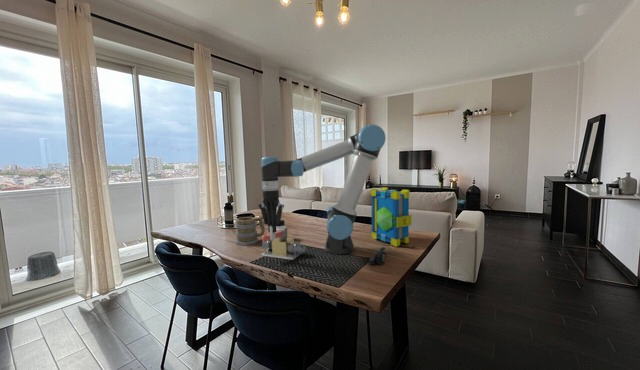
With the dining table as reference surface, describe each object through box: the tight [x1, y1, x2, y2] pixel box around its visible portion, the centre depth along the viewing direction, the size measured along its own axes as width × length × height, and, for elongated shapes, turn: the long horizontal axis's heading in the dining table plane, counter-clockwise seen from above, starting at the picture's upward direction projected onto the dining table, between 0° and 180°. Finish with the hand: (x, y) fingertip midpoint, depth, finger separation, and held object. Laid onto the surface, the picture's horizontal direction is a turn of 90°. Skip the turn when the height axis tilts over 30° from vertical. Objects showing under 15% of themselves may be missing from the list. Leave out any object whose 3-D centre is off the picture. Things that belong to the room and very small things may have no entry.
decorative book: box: [370, 186, 412, 248], centre depth 153 cm, size 14×23×30 cm, turn 30°
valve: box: [260, 237, 307, 261], centre depth 138 cm, size 23×13×7 cm, turn 67°
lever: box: [261, 229, 288, 243], centre depth 133 cm, size 15×4×4 cm, turn 143°
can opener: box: [368, 246, 387, 265], centre depth 126 cm, size 18×7×6 cm, turn 154°
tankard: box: [234, 215, 266, 246], centre depth 161 cm, size 20×13×15 cm, turn 119°
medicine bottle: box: [273, 219, 288, 240], centre depth 163 cm, size 7×7×12 cm
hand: (272, 238), depth 129 cm, fingers closed
